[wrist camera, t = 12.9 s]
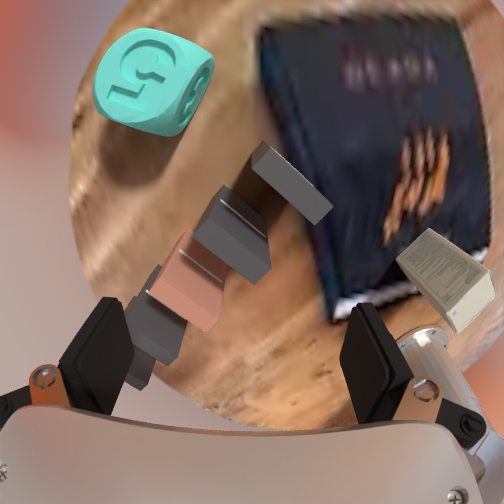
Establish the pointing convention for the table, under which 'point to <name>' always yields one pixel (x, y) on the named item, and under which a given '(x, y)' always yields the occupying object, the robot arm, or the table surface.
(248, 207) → the domino
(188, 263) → the domino
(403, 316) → the table surface
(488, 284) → the skincare box
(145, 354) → the domino
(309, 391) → the table surface
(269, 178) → the domino
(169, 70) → the decorative dice
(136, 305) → the domino
